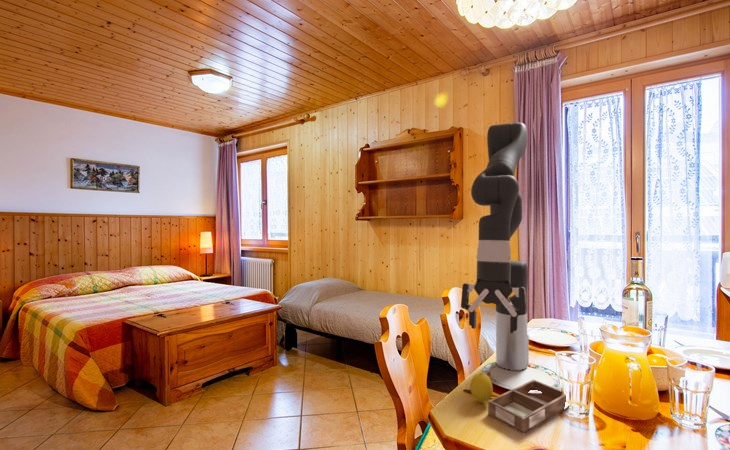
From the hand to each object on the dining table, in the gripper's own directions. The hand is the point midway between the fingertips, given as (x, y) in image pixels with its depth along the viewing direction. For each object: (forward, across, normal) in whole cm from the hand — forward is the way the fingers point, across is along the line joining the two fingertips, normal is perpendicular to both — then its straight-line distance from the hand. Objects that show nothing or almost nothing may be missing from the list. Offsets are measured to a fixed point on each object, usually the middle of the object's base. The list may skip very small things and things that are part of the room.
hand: (492, 330), depth 88 cm
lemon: (+21, +4, -12) cm, 24 cm away
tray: (+21, -7, -12) cm, 25 cm away
